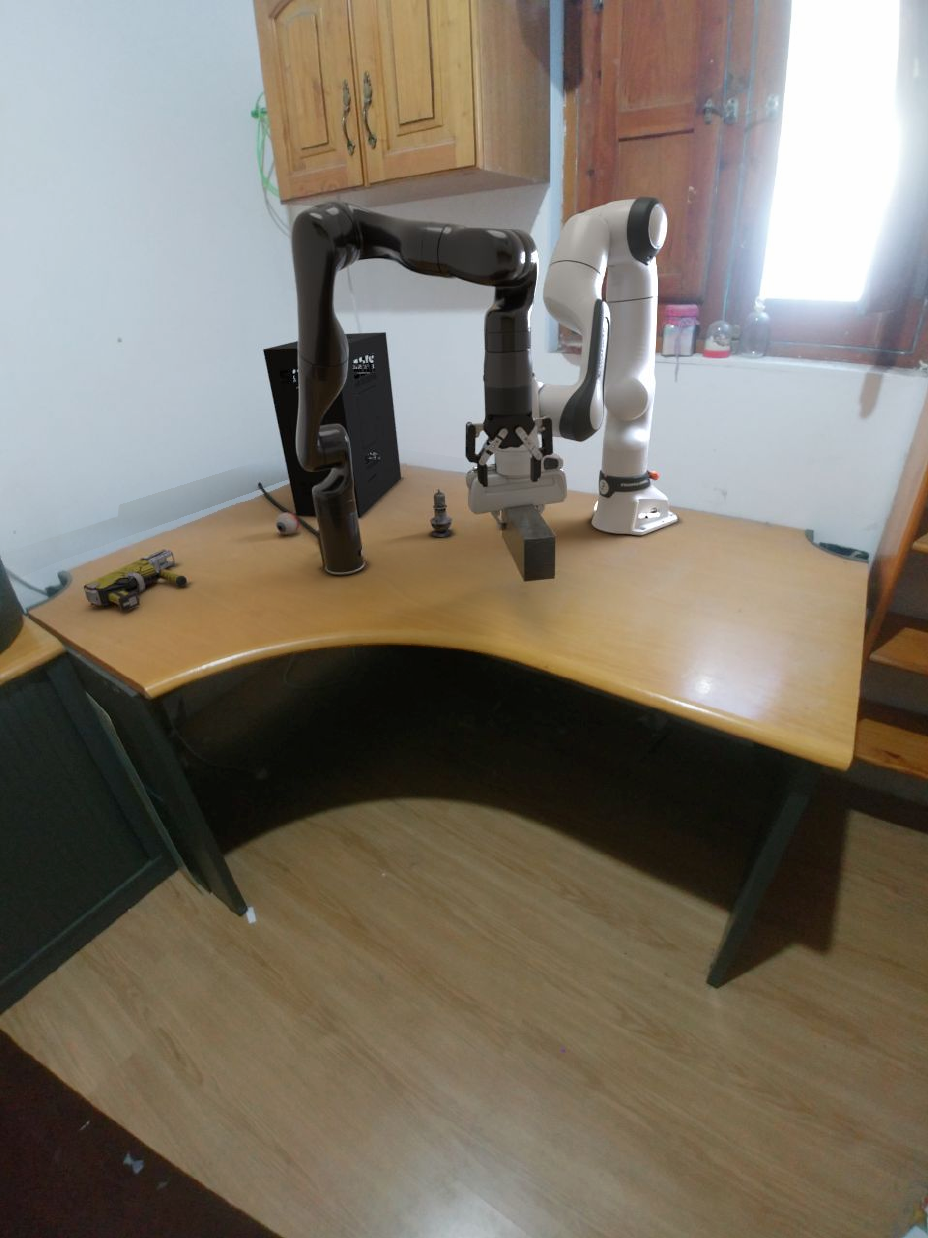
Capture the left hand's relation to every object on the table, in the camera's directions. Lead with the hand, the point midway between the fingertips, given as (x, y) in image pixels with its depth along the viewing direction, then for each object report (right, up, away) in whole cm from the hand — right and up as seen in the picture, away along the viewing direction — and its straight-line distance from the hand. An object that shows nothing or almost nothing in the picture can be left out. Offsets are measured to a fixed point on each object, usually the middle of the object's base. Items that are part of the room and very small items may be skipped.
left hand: (509, 483), depth 102 cm
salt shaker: (-13, 0, +58) cm, 60 cm away
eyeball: (-56, 0, +63) cm, 84 cm away
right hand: (+4, -4, +23) cm, 24 cm away
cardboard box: (-43, +16, +90) cm, 101 cm away
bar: (+5, -10, +18) cm, 21 cm away
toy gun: (-80, -16, +38) cm, 90 cm away
